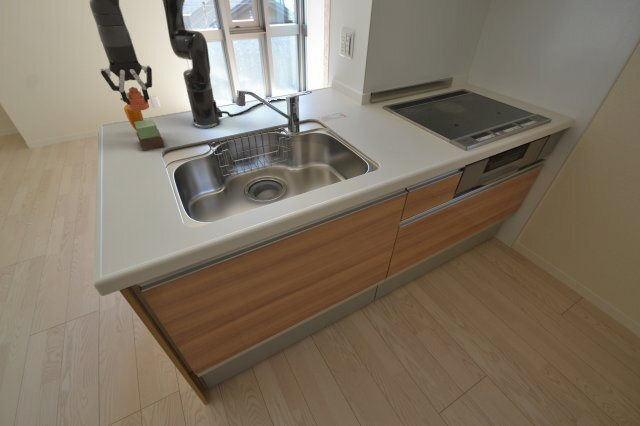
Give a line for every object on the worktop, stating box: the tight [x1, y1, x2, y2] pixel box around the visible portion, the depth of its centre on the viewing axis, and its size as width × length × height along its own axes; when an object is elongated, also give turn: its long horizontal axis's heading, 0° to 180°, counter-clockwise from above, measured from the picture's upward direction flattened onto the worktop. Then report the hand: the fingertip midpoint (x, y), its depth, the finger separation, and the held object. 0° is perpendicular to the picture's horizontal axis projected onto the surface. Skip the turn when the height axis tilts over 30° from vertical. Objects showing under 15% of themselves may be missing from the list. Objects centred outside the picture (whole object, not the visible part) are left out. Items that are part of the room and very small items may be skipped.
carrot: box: [119, 92, 144, 132], centre depth 106 cm, size 5×5×15 cm
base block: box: [135, 128, 165, 152], centre depth 104 cm, size 7×7×4 cm
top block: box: [134, 118, 160, 140], centre depth 101 cm, size 6×6×4 cm
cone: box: [126, 86, 150, 112], centre depth 94 cm, size 6×6×6 cm
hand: (137, 101), depth 95 cm, fingers closed on cone, 4 cm apart
